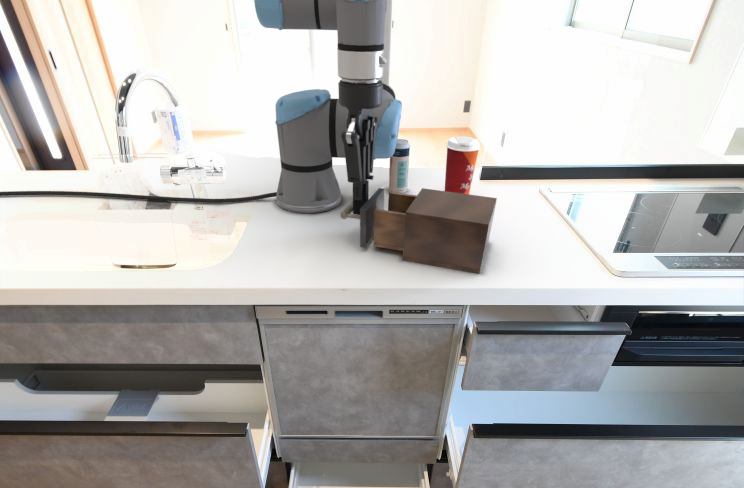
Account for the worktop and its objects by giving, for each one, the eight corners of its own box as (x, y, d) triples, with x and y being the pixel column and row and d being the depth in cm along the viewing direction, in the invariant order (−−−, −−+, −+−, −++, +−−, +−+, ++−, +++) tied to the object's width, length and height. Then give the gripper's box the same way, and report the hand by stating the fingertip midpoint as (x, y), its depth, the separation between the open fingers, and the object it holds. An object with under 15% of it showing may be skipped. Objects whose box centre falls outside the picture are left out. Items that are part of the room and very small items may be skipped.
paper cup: (471, 208, 105) (481, 146, 96) (438, 205, 106) (445, 143, 97) (471, 196, 111) (481, 136, 102) (441, 193, 112) (448, 134, 103)
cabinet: (402, 260, 85) (405, 212, 79) (418, 232, 94) (422, 188, 88) (479, 273, 81) (489, 224, 75) (487, 244, 90) (496, 198, 85)
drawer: (336, 243, 88) (335, 204, 83) (356, 220, 96) (356, 184, 91) (427, 258, 83) (431, 219, 78) (440, 233, 92) (444, 196, 87)
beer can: (395, 186, 115) (398, 137, 108) (410, 190, 113) (414, 141, 106) (384, 191, 112) (386, 141, 105) (399, 196, 110) (402, 145, 103)
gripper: (369, 88, 68) (367, 229, 83) (393, 74, 78) (388, 204, 93) (324, 84, 70) (330, 223, 85) (353, 71, 80) (354, 199, 95)
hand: (360, 213), depth 89 cm, fingers closed
